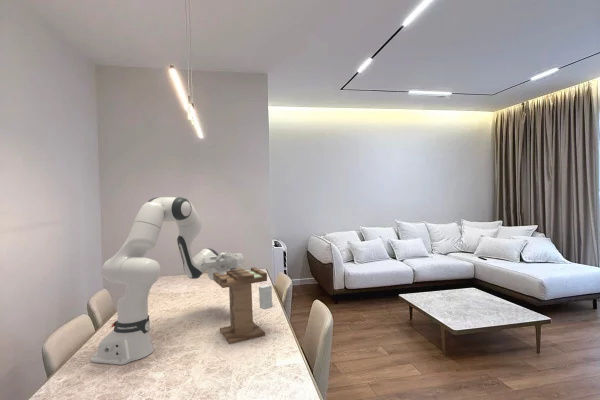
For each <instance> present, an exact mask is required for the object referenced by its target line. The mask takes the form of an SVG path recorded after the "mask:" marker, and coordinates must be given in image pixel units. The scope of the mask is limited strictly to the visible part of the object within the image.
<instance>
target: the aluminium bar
mask: <svg viewBox="0 0 600 400" xmlns="http://www.w3.org/2000/svg"><path fill="white" fill-rule="evenodd" d="M220 254H223V259H224V260H226V261H228V262H230V263H232V264H233V265H235V266H237V267H238V268H239V267H244V266H245V259H244V257H243V258H241V257H239V256H237V255H234V254H235V253H232V252H230V251H226V250H225V251H221V252H220Z"/></svg>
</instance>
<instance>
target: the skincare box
mask: <svg viewBox="0 0 600 400" xmlns="http://www.w3.org/2000/svg"><path fill="white" fill-rule="evenodd" d="M272 291H273V290H272V284H271V285H270V284H264V285H261V286H258V296H259V299H258V300H259V308H260V309H262V310H267V309H269V308H272V307H273V292H272Z"/></svg>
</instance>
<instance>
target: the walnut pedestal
mask: <svg viewBox="0 0 600 400" xmlns="http://www.w3.org/2000/svg"><path fill="white" fill-rule="evenodd" d="M213 278H214V280H213V281H214V282H215V283H216V284H217V285H219V286H220V287H221V288H222V289H226V288H228V294H229V317H230V318H229V320H230V322H229V323H230V325H228V326H224V327H219V332H220V334H221V335H222V336H223V338H224V339H225V341H227V342H228V344H229V345H232V344H236V343H240V342H244V341H248V340H252V339H256V338H262V337H264V336H266V333H265V331H264V330H263V329H262V328H261V327H259V325H258V324H256V323H255V322H254V317H253V316H254V315H253V291H252V290H253V289H252V286H253V285H252V284H257V283H262V282H268V273H267V272H265V271H263V270H262V269H259V268H257V267H254V266H253V267H250V270H245V269H243V268H239V269H238V268H237V269H233V270H229V271H226V272H225V274H224V275H221V274H219V273H218V272H216V273H213Z"/></svg>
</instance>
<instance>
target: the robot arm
mask: <svg viewBox="0 0 600 400" xmlns="http://www.w3.org/2000/svg"><path fill="white" fill-rule="evenodd" d="M164 221H166V222H170V221H175V222H176V225H177V227H178V236H177V239H176V242H177V246H178V249H179V253H180V257H181V261H182V264H183V272H184V273H185V275H186V277H188V278H189V279H191V280H194V279H195V280H197V279H199V278H200V277H201V276H202V275H203V274H204V273H205V272H206V271H207V277H208V278H209V279H210V280H212V281H214V278H213V273H216V272H218V273H219V274H221V275H225V274H226V271H230V270H237V269H238V268H239V267H237V266H235V265H233V264H232V263H230V262H228V261H226V260H224V259H223V254H221V253H218V252H217V251H216V250H215V249H213V248H209V247H205V248H203V249H202V250H201V251H199V252H198V253H197V254H196V255H195V256H194V257H193V254H192V251H191V247H192V244H193V243H194V241H195V239H197V236H199V233H200V232H201V229H202V221H201V218H200V216H199V214H198V212H197V210H196V208H195V206H194V205H193V204H192V202H191V201H190V200H188V199H187V198H184V197H183V196H181V197H180V196H178V197H176V196H175V197H173V196H163V197H153V198H151V199H149V200H148V201H146V202H145V203H144V204H142V206H141V207H140V209H139V211H138V212H137V214H136V216H135V219H134V221H133V224H132V226H131V229H130V231H129V233H128V236H127V238H126V240H125V242H124V243H123V245H122V246H121V247H120V248H119V250H118V251H117V252H116V253H115V254H114V255H112V257H110V258H108V259H107V260H106V261H105V262H104V264H103V265H102V267H101V275H102V277H103V279H105V280H106V281H107V282H110V283H112V284H115V285H125V291H124V294H123V295H122V296H121V297H119V298H118V300H117V302H116V308H117V311H116V313H117V314H116V315H117V320H114V322H113V323H111V327H110V328H113V330H112V331H110V332H109V333H108V334H107V335H106V336H105V337H104V338H102V339H101V341H99V344H98V346H97V351H96V352H95V353H94V354H93V355H92V356H91V358H90V362H91V363H98V364H108V365H109V364H110V365H121V366H122V365H125V364H129V363H130V362H133V361H137V360H140V359H143V358H145V357H148V356H149V355H151V354H152V353H153V352H154V349H155V348H154V345H153V344H152V340H151V339H152V338H151V333H150V327H151V326H150V325H151V323H150V316H149V303H148V300H149V296H150V292H151V289H152V287H153V285H154V284H155V283H156V282H157V281H158V280H159V278H160V276H161V272H162V269H161V265H160V263H159V262H158V261H157V260H156V259H155V260H154V259H152V258H148V257H144V256H145V255H146V254H147V253H149V252H150V251H152V250H153V249H154V248H155V247H156V245H157V242H158V239H159V235H160V232H161V229H162V227H163V222H164ZM233 254H234V255H237V256H239V257H241V258H243V259H244V254H243V253H242V252H240V253H239V252H238V253H233Z"/></svg>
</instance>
